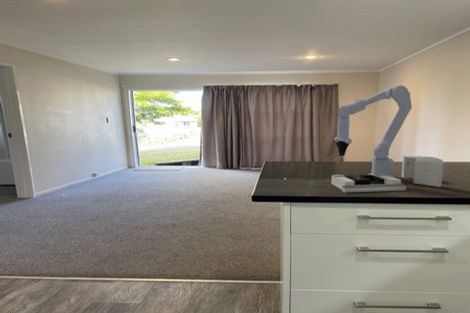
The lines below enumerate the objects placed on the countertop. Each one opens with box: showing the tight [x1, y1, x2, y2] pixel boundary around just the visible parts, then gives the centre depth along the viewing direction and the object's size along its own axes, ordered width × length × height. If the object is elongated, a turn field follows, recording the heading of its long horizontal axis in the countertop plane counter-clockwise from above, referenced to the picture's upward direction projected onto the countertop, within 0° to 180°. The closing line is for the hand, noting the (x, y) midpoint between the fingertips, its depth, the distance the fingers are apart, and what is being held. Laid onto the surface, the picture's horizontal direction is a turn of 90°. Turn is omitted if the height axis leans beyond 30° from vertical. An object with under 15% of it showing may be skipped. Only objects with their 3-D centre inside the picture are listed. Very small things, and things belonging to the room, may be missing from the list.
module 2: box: [374, 173, 402, 184], centre depth 116 cm, size 4×12×4 cm, turn 5°
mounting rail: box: [341, 182, 407, 194], centre depth 108 cm, size 26×2×2 cm, turn 95°
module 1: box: [331, 174, 355, 190], centre depth 114 cm, size 4×12×4 cm, turn 5°
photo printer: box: [413, 156, 444, 188], centre depth 116 cm, size 10×4×12 cm, turn 39°
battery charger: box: [344, 174, 384, 185], centre depth 117 cm, size 13×10×4 cm
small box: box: [401, 155, 423, 180], centre depth 130 cm, size 8×6×10 cm
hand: (341, 155), depth 141 cm, fingers closed
